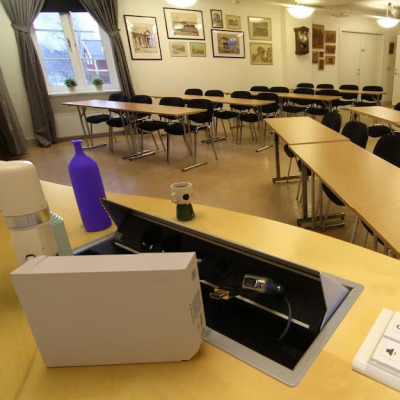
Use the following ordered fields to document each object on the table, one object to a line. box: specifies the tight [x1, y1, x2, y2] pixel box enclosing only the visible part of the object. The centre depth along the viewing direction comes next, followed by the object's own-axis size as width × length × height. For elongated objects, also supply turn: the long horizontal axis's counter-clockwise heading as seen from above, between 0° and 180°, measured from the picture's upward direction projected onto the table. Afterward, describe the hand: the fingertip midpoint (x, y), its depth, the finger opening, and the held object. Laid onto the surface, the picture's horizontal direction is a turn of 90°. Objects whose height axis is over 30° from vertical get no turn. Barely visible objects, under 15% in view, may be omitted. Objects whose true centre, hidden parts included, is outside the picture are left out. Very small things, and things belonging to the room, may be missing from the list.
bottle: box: [67, 139, 112, 232], centre depth 106 cm, size 8×8×30 cm
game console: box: [9, 251, 207, 368], centre depth 58 cm, size 6×27×20 cm, turn 94°
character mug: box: [169, 181, 196, 221], centre depth 117 cm, size 11×7×13 cm, turn 163°
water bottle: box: [46, 199, 75, 256], centre depth 85 cm, size 7×7×19 cm
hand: (50, 283), depth 76 cm, fingers open, 8 cm apart
